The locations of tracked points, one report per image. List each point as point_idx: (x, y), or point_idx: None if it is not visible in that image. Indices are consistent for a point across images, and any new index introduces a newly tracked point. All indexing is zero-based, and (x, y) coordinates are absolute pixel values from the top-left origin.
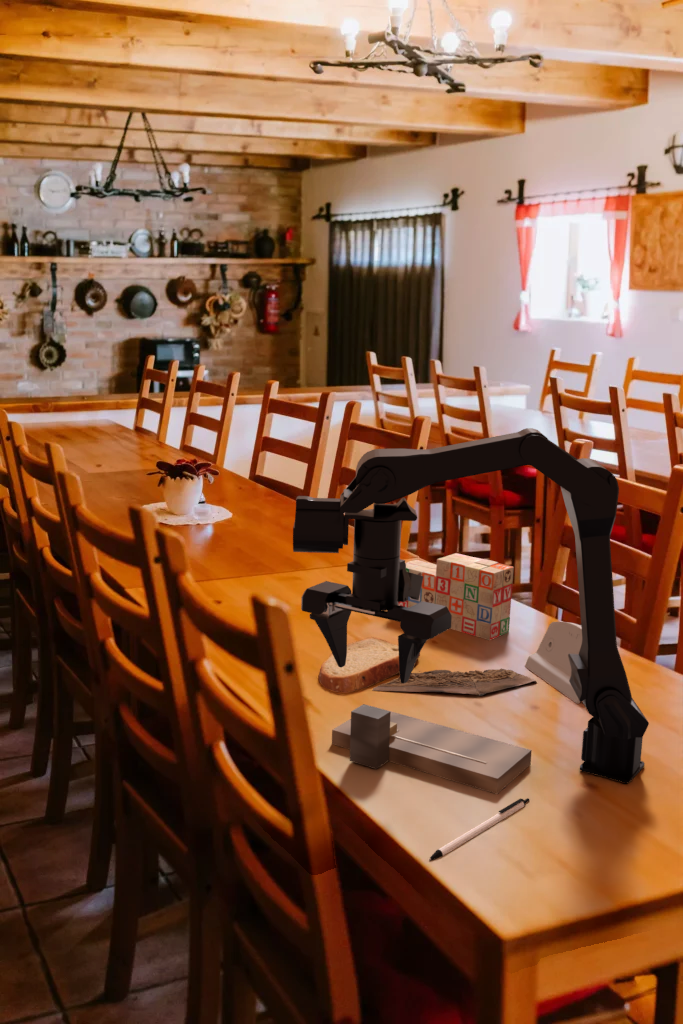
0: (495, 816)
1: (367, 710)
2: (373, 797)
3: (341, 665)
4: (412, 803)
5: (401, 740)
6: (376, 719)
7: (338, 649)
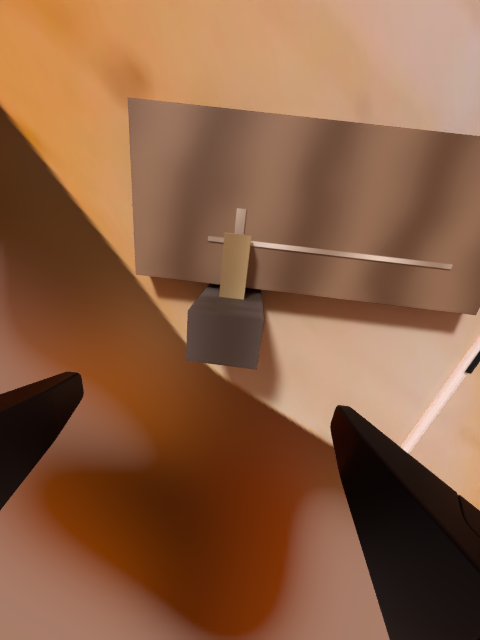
0: (459, 380)
1: (214, 339)
2: (283, 388)
3: (79, 399)
4: (335, 381)
5: (269, 253)
6: (252, 367)
7: (19, 472)
